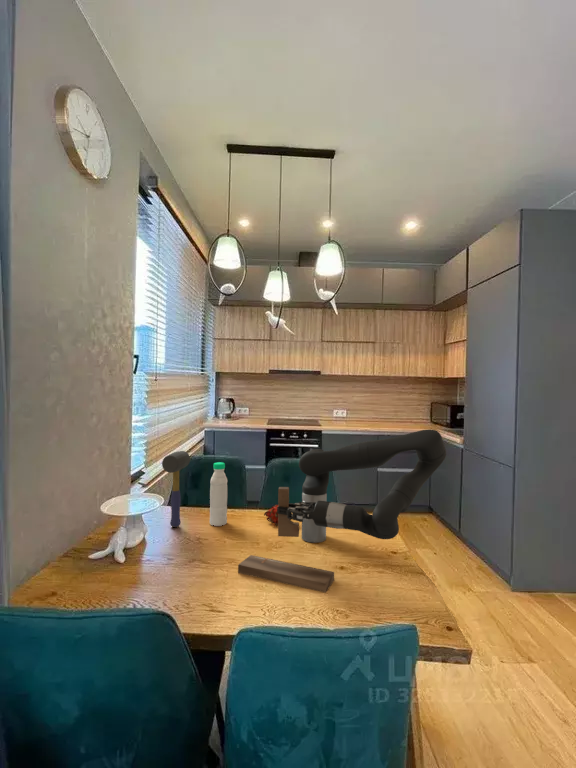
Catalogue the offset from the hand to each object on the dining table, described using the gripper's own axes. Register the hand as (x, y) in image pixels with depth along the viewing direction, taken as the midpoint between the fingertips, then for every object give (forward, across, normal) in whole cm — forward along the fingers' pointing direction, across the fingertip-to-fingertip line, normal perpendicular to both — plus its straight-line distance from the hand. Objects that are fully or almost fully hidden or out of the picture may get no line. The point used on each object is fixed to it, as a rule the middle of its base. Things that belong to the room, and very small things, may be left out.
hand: (280, 507), depth 134 cm
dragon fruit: (+16, -34, +18) cm, 42 cm away
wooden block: (-3, 0, +9) cm, 9 cm away
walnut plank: (-5, +8, +18) cm, 20 cm away
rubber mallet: (+52, -12, +18) cm, 56 cm away
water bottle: (+39, -23, +18) cm, 48 cm away
